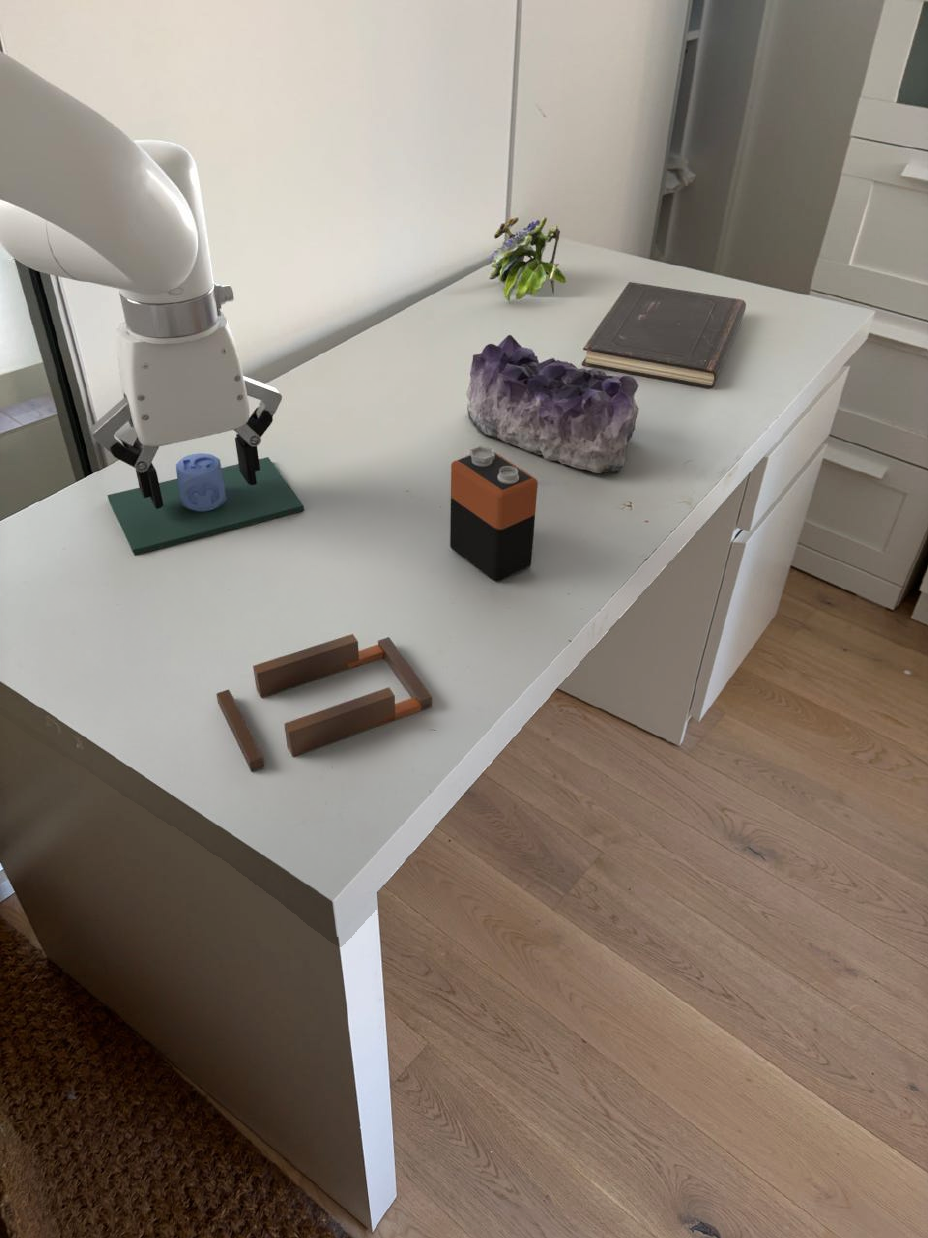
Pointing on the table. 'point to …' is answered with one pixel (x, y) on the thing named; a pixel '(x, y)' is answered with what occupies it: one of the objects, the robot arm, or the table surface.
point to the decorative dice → (200, 482)
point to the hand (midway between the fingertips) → (202, 488)
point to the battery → (492, 513)
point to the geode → (552, 407)
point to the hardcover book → (666, 334)
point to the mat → (182, 524)
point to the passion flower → (512, 257)
